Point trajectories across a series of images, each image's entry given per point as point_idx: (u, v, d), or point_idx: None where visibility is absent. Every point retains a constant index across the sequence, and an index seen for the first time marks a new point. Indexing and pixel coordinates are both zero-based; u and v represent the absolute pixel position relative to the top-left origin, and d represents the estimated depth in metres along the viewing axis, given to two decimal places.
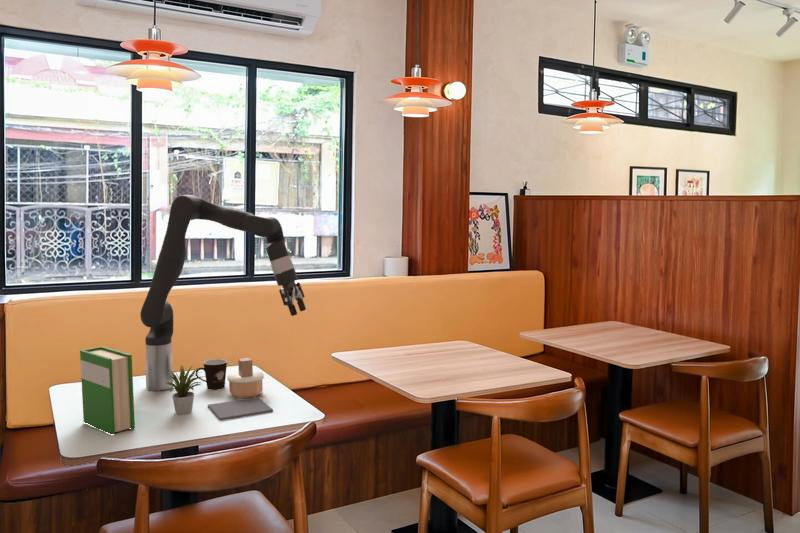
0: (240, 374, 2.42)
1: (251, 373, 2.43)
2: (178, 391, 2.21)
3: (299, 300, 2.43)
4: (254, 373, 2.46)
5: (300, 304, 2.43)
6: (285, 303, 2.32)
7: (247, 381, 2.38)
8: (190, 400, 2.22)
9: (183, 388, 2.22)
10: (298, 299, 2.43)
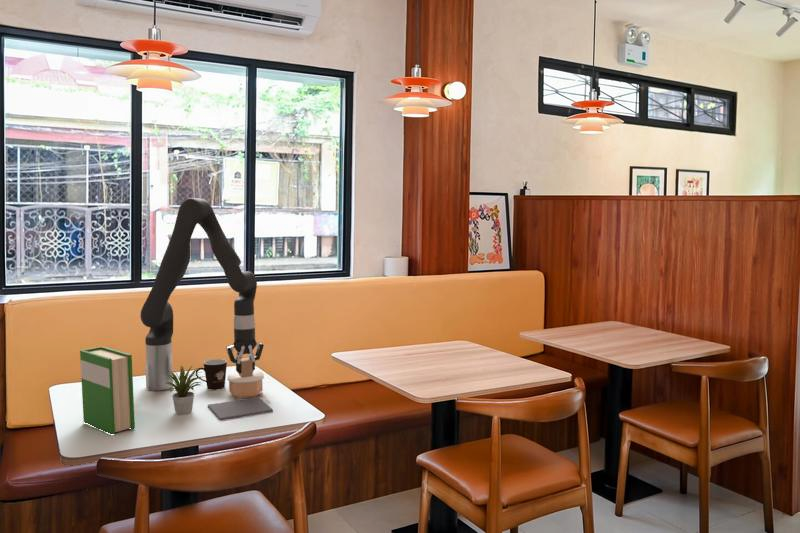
0: (240, 374, 2.42)
1: (251, 373, 2.43)
2: (178, 391, 2.21)
3: None
4: (254, 373, 2.46)
5: None
6: (231, 360, 2.41)
7: (247, 381, 2.38)
8: (190, 400, 2.22)
9: (183, 388, 2.22)
10: None
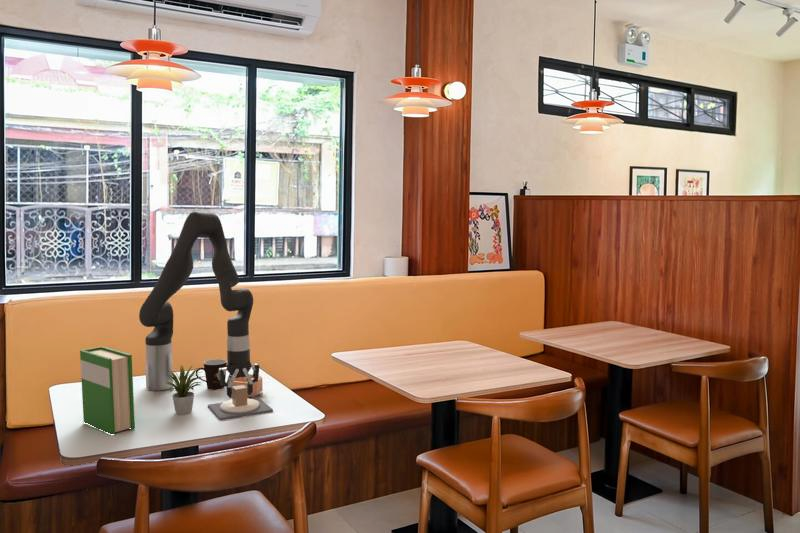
0: (234, 403, 2.26)
1: (246, 402, 2.26)
2: (178, 391, 2.21)
3: (248, 383, 2.28)
4: (249, 401, 2.30)
5: (248, 387, 2.28)
6: (221, 383, 2.24)
7: (241, 411, 2.21)
8: (190, 400, 2.22)
9: (183, 388, 2.22)
10: (248, 381, 2.28)
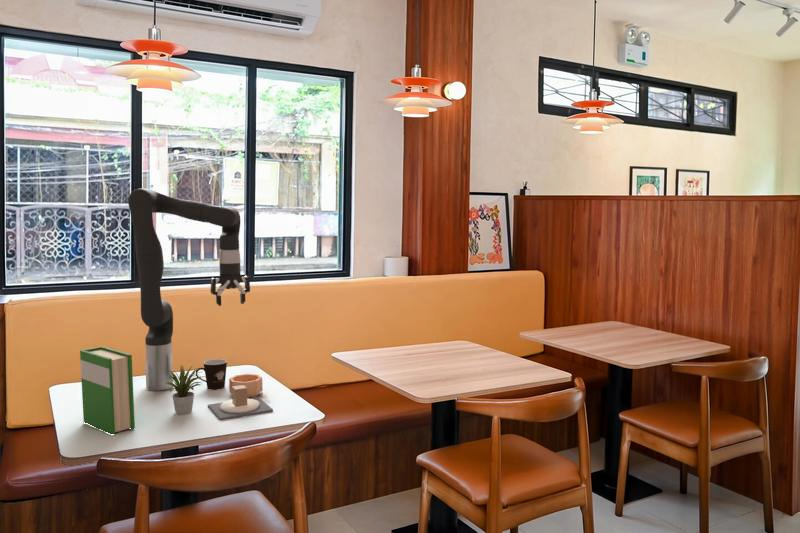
0: (234, 403, 2.26)
1: (246, 402, 2.26)
2: (178, 391, 2.21)
3: (241, 293, 2.50)
4: (249, 401, 2.30)
5: (241, 297, 2.50)
6: (211, 292, 2.45)
7: (241, 411, 2.21)
8: (190, 400, 2.22)
9: (183, 388, 2.22)
10: (241, 291, 2.50)
